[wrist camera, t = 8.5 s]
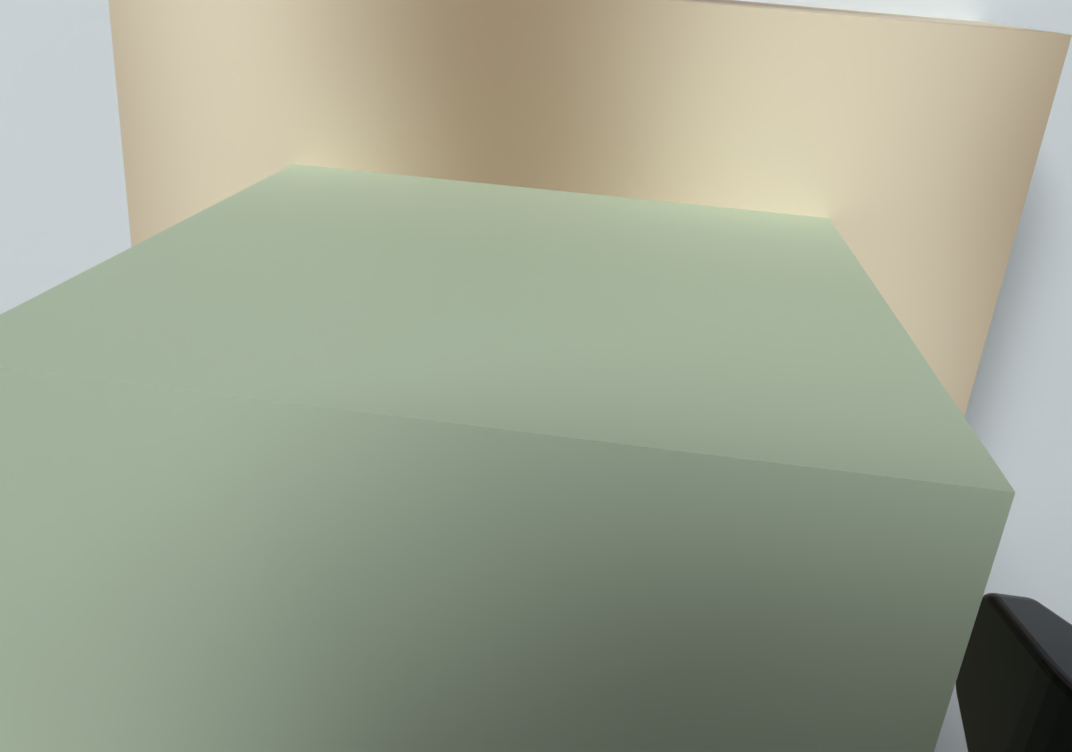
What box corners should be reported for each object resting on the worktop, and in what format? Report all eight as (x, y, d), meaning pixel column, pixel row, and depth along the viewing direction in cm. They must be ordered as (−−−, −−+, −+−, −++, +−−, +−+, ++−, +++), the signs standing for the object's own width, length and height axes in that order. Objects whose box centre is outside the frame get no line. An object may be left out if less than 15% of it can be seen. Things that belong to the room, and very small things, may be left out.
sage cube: (828, 218, 10) (1015, 491, 5) (740, 659, 13) (799, 1178, 7) (294, 163, 11) (-84, 356, 5) (304, 598, 13) (49, 1041, 8)
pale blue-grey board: (1410, -118, 12) (1473, -126, 11) (1074, 743, 17) (1096, 785, 16) (-96, -227, 14) (-152, -240, 13) (33, 592, 19) (1, 623, 18)
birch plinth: (979, 21, 12) (1072, 34, 9) (825, 652, 16) (858, 791, 13) (222, -44, 13) (104, -48, 10) (251, 571, 17) (172, 687, 14)
